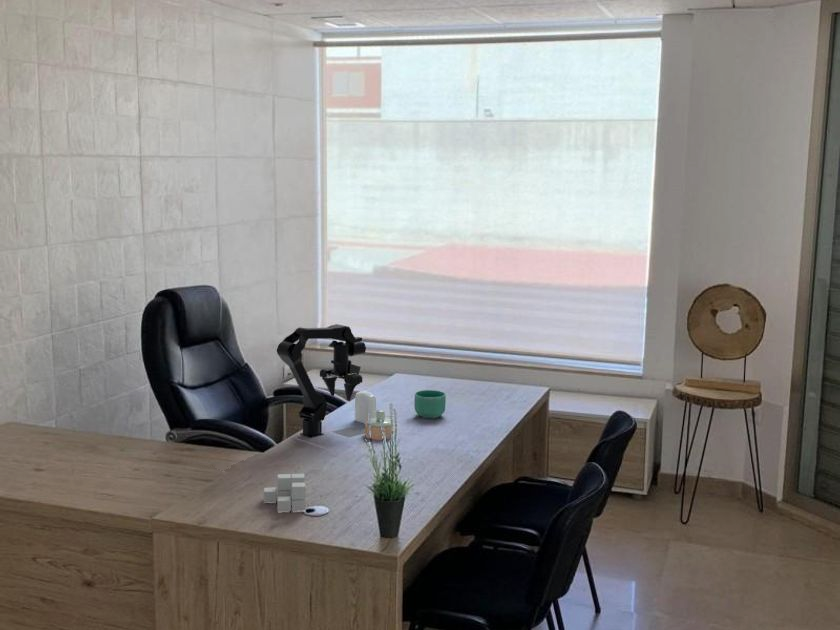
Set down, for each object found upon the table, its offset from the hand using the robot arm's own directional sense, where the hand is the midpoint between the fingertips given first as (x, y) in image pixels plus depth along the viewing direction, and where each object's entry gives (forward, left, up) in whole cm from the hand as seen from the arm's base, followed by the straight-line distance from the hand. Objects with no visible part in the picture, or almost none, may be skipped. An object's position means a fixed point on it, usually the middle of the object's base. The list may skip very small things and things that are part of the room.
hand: (340, 398), depth 361 cm
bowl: (+4, -18, -12) cm, 22 cm away
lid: (+4, -18, -7) cm, 20 cm away
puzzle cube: (-68, -52, -12) cm, 86 cm away
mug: (+41, -9, -12) cm, 44 cm away
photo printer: (+13, 0, -12) cm, 18 cm away
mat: (-1, -7, -12) cm, 14 cm away
